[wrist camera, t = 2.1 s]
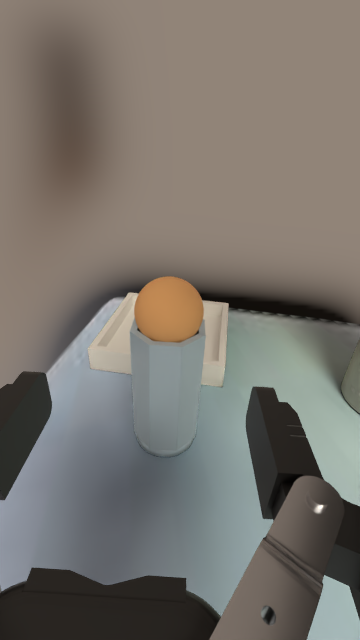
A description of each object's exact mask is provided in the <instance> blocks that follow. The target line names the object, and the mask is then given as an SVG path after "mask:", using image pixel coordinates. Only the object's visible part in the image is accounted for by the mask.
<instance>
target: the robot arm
mask: <svg viewBox="0 0 360 640" xmlns="http://www.w3.org/2000/svg"><path fill="white" fill-rule="evenodd" d="M341 390H342V394H343V396H344V398H345V399H346V401H347V402H348V403H349V404H350V405H351V407H352V408H354V409H355V410H356V411H357V412H358V413H359V414H360V339H359V341H358V344H357V346H356V349H355V351H354V354H353V356H352V358H351V361H350V363H349V366H348V368H347V371H346V373H345V376H344V378H343V381H342V383H341ZM51 409H52V401H51V396H50V391H49V386H48V381H47V377H46V374H45V373H41V372H22V373H21V374H20V375H19V376H18V378H17V379H16V380H15V382H14V383H13V384H7V385H5V386H4V387H2V388H1V389H0V500H5V499H6V497H7V495H8V493H9V491H10V490H11V488H12V486H13V484H14V482H15V480H16V478H17V477H18V475H19V473H20V471H21V469H22V467H23V465H24V464H25V462H26V460H27V458H28V456H29V454H30V452H31V451H32V449H33V447H34V445H35V443H36V441H37V439H38V438H39V436H40V434H41V432H42V430H43V428H44V426H45V425H46V423H47V421H48V419H49V417H50V414H51ZM246 432H247V438H248V443H249V448H250V453H251V459H252V464H253V469H254V474H255V479H256V485H257V490H258V495H259V500H260V506H261V511H262V516H263V519H273V520H274V522H273V524H272V526H271V528H270V530H269V532H268V533H267V535H266V537H264V538H263V540H262V541H261V543H260V545H259V547H258V548H257V550H256V552H255V554H254V556H253V558H252V560H251V562H250V564H249V565H248V567H247V569H246V571H245V573H244V575H243V577H242V579H241V581H240V582H239V584H238V586H237V588H236V590H235V592H234V594H233V596H232V598H231V599H230V601H229V603H228V605H227V607H226V609H225V611H224V613H223V615H222V617H221V616H220V615H219V614H218V613H217V612H216V611H215V610H214V609H213V608H212V607H211V606H210V605H209V604H208V603H207V602H206V601H204V600H203V599H202V598H200V597H198V596H197V595H195V594H193V593H191V592H189V591H187V590H186V578H176V577H162V576H144V577H140V578H136V579H132V580H128V581H124V582H120V583H116V584H112V585H103V584H100V583H98V582H96V581H93V580H91V579H89V578H87V577H84V576H82V575H80V574H77V573H75V572H73V571H70V570H59V569H45V568H32V569H31V571H30V574H29V577H28V579H27V581H24V582H21V583H19V584H16V585H13V586H11V587H9V588H7V589H5V590H4V591H1V587H0V640H307V636H308V633H309V630H310V627H311V624H312V621H313V618H314V615H315V612H316V609H317V605H318V602H319V599H320V596H321V593H322V589H323V583H322V580H323V577H324V575H326V576H328V577H330V578H333V579H335V580H337V581H339V582H342V583H344V584H346V585H348V586H349V587H350V590H351V593H352V597H353V600H354V603H355V606H356V609H357V613H358V616H359V619H360V506H357V505H354V504H352V503H350V502H347V501H346V500H344V499H342V498H341V497H340V495H339V493H338V492H337V491H336V490H335V489H334V487H332V486H331V485H330V484H329V483H327V482H326V481H324V479H323V477H322V475H321V472H320V470H319V467H318V465H317V462H316V460H315V457H314V455H313V452H312V449H311V447H310V444H309V442H308V439H307V438H306V434H305V432H304V429H303V428H302V424H301V422H300V419H299V417H298V414H297V413H296V411H295V410H294V409H293V408H292V407H291V406H290V405H289V404H288V403H287V402H279V401H278V398H277V395H276V392H275V390H274V388H268V387H253V388H252V391H251V396H250V401H249V405H248V410H247V415H246Z"/></svg>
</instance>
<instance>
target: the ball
mask: <svg viewBox="0 0 360 640" xmlns="http://www.w3.org/2000/svg"><path fill="white" fill-rule="evenodd" d="M134 315H135V320H136V324H137V326H138V328H139V330H140V331H141V333H142V334H143V335H145V336H146V337H148V338H149V339H151V340H152V341H160V342H177V343H180V342H182V341H184V340H186V339H188V338H191V337H193V336H194V335H195V334H196V333H197V331H198V330H199V328H200V326H201V324H202V321H203V316H204V307H203V302H202V299H201V297H200V295H199V293H198V291H197V290H196V289H195V288H194V287H193V286H192V285H191V284H190V283H188V282H187V281H185V280H183V279H180V278H177V277H161V278H157V279H155V280H153V281H151V282H150V283H148V284H147V285H146V286H145V287H144V288H143V289H142V290H141V291H140V293H139V295H138V297H137V299H136V302H135V307H134Z"/></svg>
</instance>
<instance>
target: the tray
mask: <svg viewBox="0 0 360 640" xmlns="http://www.w3.org/2000/svg"><path fill="white" fill-rule="evenodd" d="M138 295H139V294H136V293H128V295H127V296H126V298H125V299H124V300H123V302H122V303H121V304H120V306H119V307H118V308H117V310H116V311H115V312H114V314H113V315H112V316H111V318H110V319H109V321H108V322H107V323H106V325H105V326H104V327H103V329H102V330H101V331H100V333H99V334H98V335H97V337H96V338H95V340H94V341H93V342H92V344H91V345H90V346H89V348H88V354H89V362H90V369H95V370H102V371H109V372H116V373H124V374H131V375H132V373H131V351H130V329H131V326H132V323H133V320H134V318H135V315H134V307H135V302H136V299H137V297H138ZM202 302H203V307H204V316H203V319H204V320H205V335H206V339H205V349H204V359H203V369H202V379H201V384H202V385H209V386H216V387H222V386H223V379H224V372H225V362H226V342H227V322H228V303H220V302H211V301H202Z"/></svg>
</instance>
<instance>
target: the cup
mask: <svg viewBox="0 0 360 640" xmlns="http://www.w3.org/2000/svg"><path fill="white" fill-rule="evenodd" d="M205 339H206V335H205V320H204V319H203V321H202V324H201V326H200V328H199V330H198V331H197V333H196V334H195V335H194V336H193V337H191V338H188V339H186V340H184V341H182V342H180V343H177V342H160V341H152V340H151V339H149V338H148V337H146V336H145V335H143V334H142V333H141V331H140V330H139V328H138V326H137V324H136V320H135V318H134V320H133V323H132V326H131V329H130V351H131V373H132V395H133V416H134V433H135V434H136V435H137V440H138V443H139V444H140V446H141V447H142V448H143V449H144V450H145V451H146V452H148V453H150V454H151V455H154V456H158V457H173V456H177V455H179V454H181V453H183V452H184V451H186V450H187V449H188V448H189V447H190V446H191V444H192V442H193V440H194V437H195V436H196V428H197V418H198V408H199V398H200V388H201V379H202V369H203V359H204V349H205Z"/></svg>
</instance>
